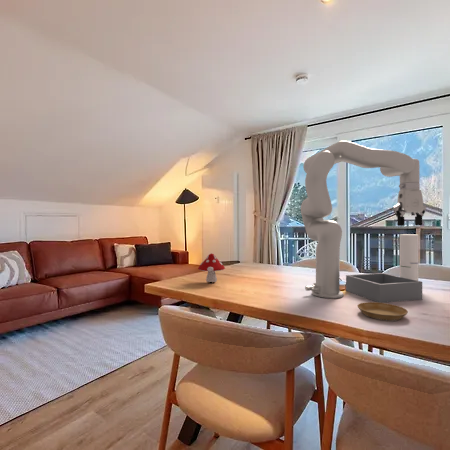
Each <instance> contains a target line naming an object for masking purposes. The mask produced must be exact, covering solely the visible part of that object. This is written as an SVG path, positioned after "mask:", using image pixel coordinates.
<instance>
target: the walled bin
mask: <svg viewBox="0 0 450 450" xmlns="http://www.w3.org/2000/svg"><path fill="white" fill-rule="evenodd" d="M345 291H346V292H348V293H351V294H354V295H357V296H359V297H362V298H365V299H368V300H371V301H372V302H378V303H395V302H408V301H418V300H420V301H421V300H423V281H421V280H420V281H419V280H418V281H417V280H412V279H408V278H403V277H400V275H399V276H397V275H394V274H389V273H385V272H380V273H378V272H377V273H361V274H346V275H345Z"/></svg>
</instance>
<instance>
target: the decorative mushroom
mask: <svg viewBox="0 0 450 450" xmlns="http://www.w3.org/2000/svg"><path fill="white" fill-rule="evenodd" d="M225 269H226V267H225V265H224V264H223V263H222V262H221V261H220V260H219V259H218V258H217V257H216V255H215V254H214V253H209V254H208V255H207V256H206V257H205V259H204V260H203V261H201V262H200V264H199V266H198V267H197V270H198V271H202V272H207V275H206V279H205V280H206V283H208V282H215V283H216V282H217V281H218V277H217V274H216V272H221V271H224V270H225Z"/></svg>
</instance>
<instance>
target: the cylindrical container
mask: <svg viewBox="0 0 450 450" xmlns="http://www.w3.org/2000/svg"><path fill="white" fill-rule="evenodd" d="M419 236H420V235H419V234H417V233H416V234H413V233H412V234H411V233H408V234H407V233H403V234H402V233H400V234H399V277H403V278H408V279H412V280H417V281H419V241H420V240H419Z"/></svg>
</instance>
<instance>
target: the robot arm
mask: <svg viewBox="0 0 450 450" xmlns="http://www.w3.org/2000/svg"><path fill="white" fill-rule="evenodd" d="M341 162H343V163H347V164H349V165H353V166H356V167H359V168H363V169H376V168H380V169H379V171H380V173H381V174H382V175H383V176H384V177H389V178H391V177H399V185H398V187H399V191H398V195H397V204H396V205H394V206H393V207H392V210H393V214H395V217H396V219H397V227H398V226H399V227H400V226H401V227H404V226H405V216H404V215H405V214H406V213H414V215H415V216H414V225H415V226H423V217H424V215H425V213H426V210H427V206H426V205H424V199H423V192H422V190H421V189H420V187H421V186H420V160H419V159H417V158H413V157H411V156H410V155H408V154H406V153H403V152H400V151H395V150H390V149H380V148H371V147H366V146H364V145H361V144H358V143H355V142H352V141H349V140H339V141H337V142H335V143H333V144H330V145H329V146H327V147H326V148H324V149H322V150H320V151H319V152H317V153H314V154H313V155H311V156H309V157H307V158H306V160H305V161H304V162H303V165H302V166H303V170H304V173H305V174H306V175H305V180H304V184H305V185H304V186H305V190H306V191H305V192H306V196H307V197H306V198H304V200H303V201H302V203H301V205H300V214H301V218H302V221H303V222H302V223H303V226H304V229H305V233H306V234H307V236H308V238H309V239H311V240H312V241H313V242H317V244H316V248H315V282H313V283H312V284H313V285H312V284H311V285H307V286H305V287H304V289H305V291H307V292H308V291H311V294H312V295H313V296H315V297H318V298H323V299H324V298H325V299H339V298H342V297H344V292H343V291H341V290H340V289H341V288H340V286H341V285H340V278H341V277H340V274H341V273H340V272H341V271H340V267H341V266H340V263H341V262H340V259H341V258H340V253H341V252H340V250H341V248H340V247H341V241H342V236H343V230H342V227H341V225H340V224H339V223H338V222H337V221H335V220H333V219H331V220H330V219H324V218H326V217H329V216H330V215H331V214H332V212H333V205H332V201H331V196H330V193H329V189H328V186H327V185H328V184H327V178H328V175H329V173H330V171H331V170H332V169H333V167H334V165H336V164H339V163H341Z"/></svg>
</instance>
